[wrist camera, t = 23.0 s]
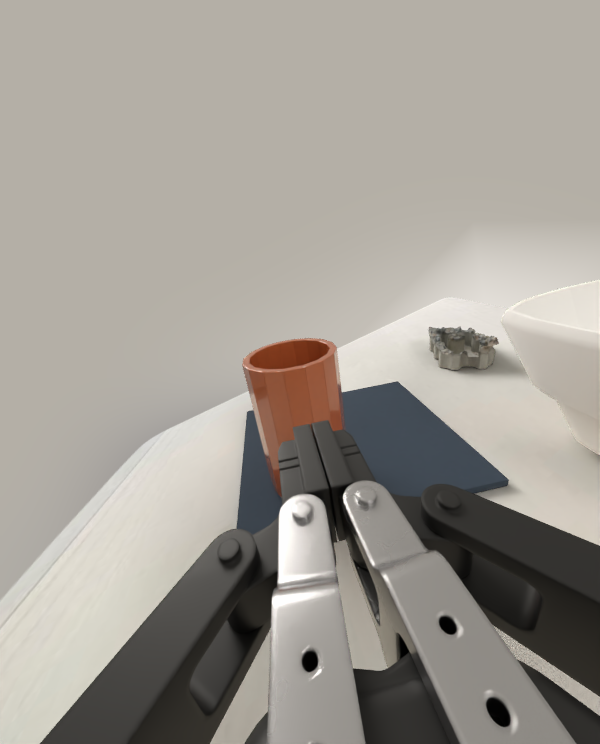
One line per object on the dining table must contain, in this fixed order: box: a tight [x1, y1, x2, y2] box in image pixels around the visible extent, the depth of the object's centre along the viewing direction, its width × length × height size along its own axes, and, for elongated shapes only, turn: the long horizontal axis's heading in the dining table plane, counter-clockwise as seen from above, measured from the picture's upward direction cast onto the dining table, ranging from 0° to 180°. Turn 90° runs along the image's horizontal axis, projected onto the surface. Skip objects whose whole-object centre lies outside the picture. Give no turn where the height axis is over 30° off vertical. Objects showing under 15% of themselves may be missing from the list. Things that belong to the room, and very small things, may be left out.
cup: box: [242, 338, 346, 497], centre depth 22 cm, size 7×7×11 cm
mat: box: [237, 382, 508, 535], centre depth 28 cm, size 20×18×1 cm
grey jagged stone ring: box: [429, 327, 499, 370], centre depth 42 cm, size 11×8×4 cm
